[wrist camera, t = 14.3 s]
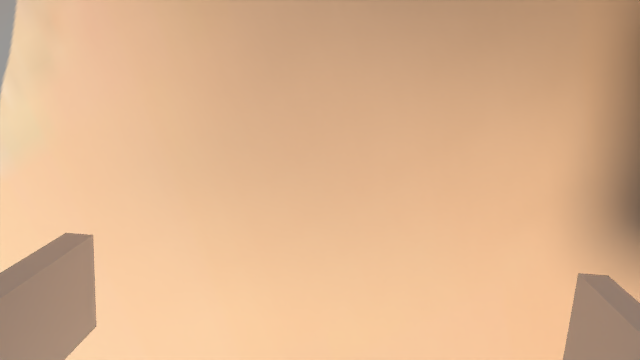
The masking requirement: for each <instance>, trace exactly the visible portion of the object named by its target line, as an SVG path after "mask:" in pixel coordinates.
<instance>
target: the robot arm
mask: <svg viewBox="0 0 640 360" xmlns="http://www.w3.org/2000/svg"><path fill="white" fill-rule="evenodd" d="M95 327H96V304H95V276H94V248H93V235H86V234H73V233H65V234H63V235H62V236H60V237H58V238H57V239H55V240H54V241H52V242H50V243H49V244H47V245H45V246H44V247H42V248H40V249H39V250H37V251H36V252H34V253H32V254H31V255H29V256H27V257H26V258H24V259H22V260H21V261H19V262H18V263H16V264H14V265H13V266H11V267H9V268H8V269H6V270H4V271H3V272H1V273H0V360H64V359H65V358H66V357H67V356H68V355H69V354H70V353H71V352H72V351H73V350H74V349H75V348H76V347H77V346H78V345H79V344H80V343H81V342H82V341H83V340H84V339H85V338H86V337H87V335H88V334H89V333H90V332H91V331H92V330H93V329H94V328H95ZM563 360H640V303H639V302H638V301H637V300H635V299H634V298H633V297H632V296H631V295H630V294H629V293H627V292H626V291H625V290H624V289H623V288H622V287H620V286H619V285H618V284H617V283H616V282H615V281H614V280H612V279H611V278H610V277H609V276H606V275H593V274H581V273H578V278H577V284H576V289H575V295H574V301H573V306H572V312H571V318H570V323H569V329H568V334H567V340H566V346H565V351H564V357H563Z"/></svg>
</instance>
